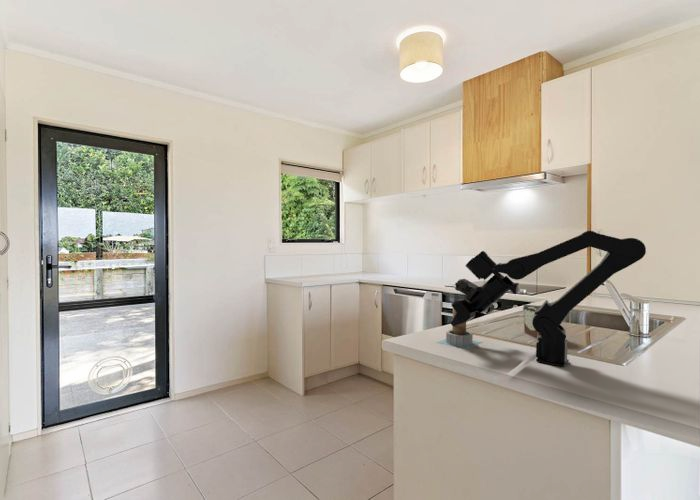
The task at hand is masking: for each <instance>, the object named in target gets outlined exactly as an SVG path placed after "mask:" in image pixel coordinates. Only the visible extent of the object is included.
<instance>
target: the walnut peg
mask: <svg viewBox="0 0 700 500" xmlns="http://www.w3.org/2000/svg"><path fill="white" fill-rule="evenodd" d="M456 313H457V312H456V311H455V309H454V308H453V307H452V319H453V318H454V317H455V315H456ZM452 330H453V331H452V334H455V335H466V331H467V322H464V323H461V324H458V325H455V326H452Z"/></svg>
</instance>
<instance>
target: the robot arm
mask: <svg viewBox="0 0 700 500" xmlns="http://www.w3.org/2000/svg"><path fill="white" fill-rule="evenodd" d="M589 247H590V248H593V249H597V250H599V251H602V252H603V251H604V252H606V254H605V255H604V257H603V258H602V259H601V261H600V262H599V263H598V264H597V265H596V266H595V267H593V269H591V270H590V271H589V272H588V273H587V274H586V275H584V277H582V278H581V279H580V280H579V281H578V282H576V284H574V285H572V287H571V288H569V289H568V290H567V291H566V292H565V293H564V294H562V295H561V296H560V298H558V299H556V300H555V301H553V302H551V303H550V302H549V301H548V300H547V299H546V300H545V301H544V302H543V303H542V304H541V305H540V306H541V307H539V308H537V309H535V313H534V317H533V321H532V324H533V327H534V329H535V330H536V331H537V332H539V333H540V335H541V336H540V337H539V340H537V342H536V344H535V346H536V349H535V350H536V351H535V357H536V359H535V361H536V362H538V363H543V364H548V365H553V366H557V367H562V368H563V367H565V366H566V365H567V364H568V363H569V361H570V360H569V359H568V342H569V341H568V339H566V338H567V332H566V329H565V328H564V327H563V325H561V324H562V323H563V321H564V320H565V319H566V317H567V316H568V314H569V313H570V311H572V310H573V309H574V308H575V307H576V306H579V304H580V303H581V302H582V301H584V300H585V299H586V298H588V297H589V296H590V295H591V294H592V293H593V292H594V291H596V290H597V289H598V288H599V287H600V286H601V285H603V284H604V283H605V282H606V281H607V280H609V279H610V278H611V277H612V276H613V275H615V274H616V273H618V272H620V271H622V270H624V269H626V268H628V267H630V266H632V265H633V264H635V263H637V262H639V261H640V260H642V259H643V258H644V257H645V255H646V253H647V251H646V249H647V248H646V245H645V244H644V243H643V241H642V240H640V239H638V238H634V237H626V238H619V237H614V236H610V235H607V234H606V235H605V234H602V233H598V232H595V231H594V230H587V231H584V232H582V233H581V234H579V235H577V236H574V237H572V238H570V239H567V240H565V241H562V242H561V243H558V244H556V245H553V246H551V247H549V248H545V249H544V250H541V251H540V252H535V253H532V254H527V255H524V256H519V257H516V258H512V259H510V260H508V261H507V262H504V263H502V262H499V263H496V262H495V261H494V260H493V259H492V258H491V257H490V256H489V255H488V253H487V252H486V251H485V250H482V251H480V252H479V253H478V254H476V255H475V256H474V257H472V258H471V259H470V260H469V261H468V262H467V263H466V264H465V267H466V268H467V269H468V270H469V272H471V274H473V275H474V276H475V277H476V278H477V279H478V280H484V281H486V280H487V279H488V278H489V277H490V276H491V277H490V278H489V279H488V280H487V281H486V282H485V283H483V285H481V286H478V285H477V284H475V283H474V282H472V281H469V280H468V279H466V278H461V279H458V280H457V281H456V282H455V287H454V289H455V291H457V292H458V291H459V292H460V293H461V294H464V295H465V298H466V299H461V298H460V299H459V298H458V299H456V300H454V301H453V302H452V303H451V304H450V305H451V307H452V309H453V308H454V309H455V311H456V312H457V313H456V315H455V317H454V318H453V317H452V320H451V321H450V324H451V326H452V327H453V326H455V325H458V324H461V323H464V322H466V323H467V322H470V321H473V320H475V319H479V318H482V317H484V316H485V314H486V315H489V314H491V313H492V312H494V311H495V304H496V303H498V302H499V300H500V299H501V298H502V297H503V296H504V295H505V294H506V293H508V292H509V291H511V293H512V294H514V295H516V294H517V293H518V292H519V285H520V284H519V282H513V280H515V281H516V280H517V281H518V280H522V279H524V278H525V277H527V276H529V275H530V274H532V273H533V272H535V271H537V270H539V269H540V268H541V267H543V266H545V265H548V264H550V263H553V262H555V261H557V260H560V259H562V258H565V257H568V256H570V255H572V254H575V253H578V252H579V251H582V250H584V249H585V250H586V249H587V248H589ZM492 274H493V275H492ZM503 274H505V276H504V275H503Z"/></svg>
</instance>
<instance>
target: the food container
mask: <svg viewBox="0 0 700 500" xmlns="http://www.w3.org/2000/svg"><path fill="white" fill-rule="evenodd" d="M541 306H542V305H537V304H536V305H535V304H534V305H533V304H523V307H522V311H523V326H524V327H523V332H524V335H527V336H528V337H531V338H533V339H534V340H536V341H539V337H540V336H541V335H540V333H539V332H537V331H536V330H535V329H534V327H533V324H532V321H533V317H534V313H535V309H537V308H539V307H541Z"/></svg>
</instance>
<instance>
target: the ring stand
mask: <svg viewBox="0 0 700 500" xmlns="http://www.w3.org/2000/svg"><path fill="white" fill-rule="evenodd" d="M452 331H453V329H449V330H446V332H445V333H446V334H445V338H444V339H442V340H439V341H437V342H436V343H437V344H440V345H446V346H451V347H455V348H459V349H465V350H469V349H471V348H474V347H475V346H477V345H480V344H482V341H476V340H473V338H474V337H473V333H472V332H471V331H468V330H466V335H455V334H452Z"/></svg>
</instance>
